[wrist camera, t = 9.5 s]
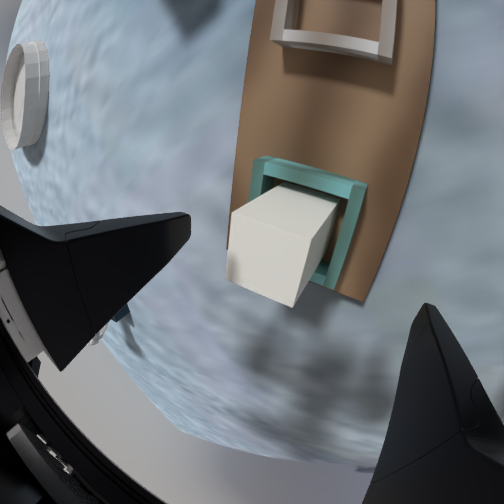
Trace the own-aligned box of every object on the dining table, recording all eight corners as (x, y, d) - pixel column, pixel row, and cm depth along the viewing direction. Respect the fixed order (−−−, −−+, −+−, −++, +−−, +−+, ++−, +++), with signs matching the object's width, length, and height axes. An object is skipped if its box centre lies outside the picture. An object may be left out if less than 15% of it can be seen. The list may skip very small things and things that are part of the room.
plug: (340, 198, 17) (311, 239, 12) (326, 250, 20) (292, 307, 14) (284, 181, 19) (231, 212, 13) (275, 232, 21) (225, 279, 15)
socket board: (432, -17, 8) (436, -40, 5) (365, 291, 21) (359, 318, 18) (271, -37, 12) (250, -55, 9) (235, 242, 25) (213, 259, 22)
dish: (42, 20, 25) (20, 22, 21) (60, 88, 29) (33, 93, 25) (14, 95, 38) (-3, 99, 34) (32, 164, 42) (13, 172, 38)
